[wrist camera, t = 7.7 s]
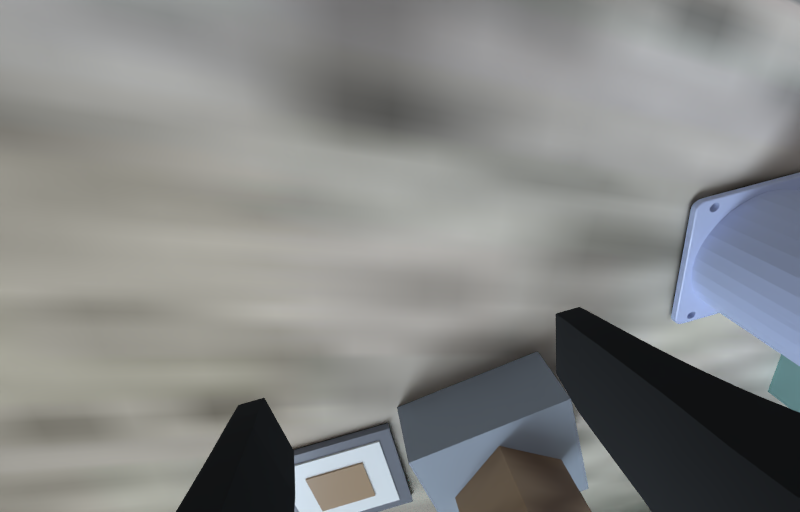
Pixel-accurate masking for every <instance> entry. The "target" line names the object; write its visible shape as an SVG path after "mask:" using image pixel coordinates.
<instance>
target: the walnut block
mask: <svg viewBox="0 0 800 512" xmlns="http://www.w3.org/2000/svg"><path fill="white" fill-rule="evenodd" d="M455 499H456V503H457V506H458V510H459V512H591V510H590V508H589V507H588V505H587V503H586V501H585V500H584V498H583V496H582V494H581V493H580V491H579V489H578V487H577V486H576V484H575V482H574V481H573V479H572V477H571V475H570V474H569V472H568V470H567V468H566V467H565V465H564V463H563V461H562V460H561V459H556V458H552V457H547V456H543V455H538V454H534V453H530V452H525V451H521V450H516V449H512V448H507V447H503V446H499V447H498V448H497V449H496V450H495V451H494V452H493V454H492V455H491V456H490V457H489V458H488V460H487V461H486V462H485V463H484V464H483V465H482V467H481V468H480V469H479V470H478V471H477V472H476V474H475V475H474V476H473V477H472V478H471V480H470V481H469V482H468V483H467V484H466V485H465V487H464V488H463V489H462V490H461V491H460V493H459V494H458V495H457V496H456V497H455Z"/></svg>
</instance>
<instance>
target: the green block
mask: <svg viewBox="0 0 800 512" xmlns="http://www.w3.org/2000/svg"><path fill="white" fill-rule="evenodd" d="M768 392H769V393H771V394H772V395H773V396H774V397H776V398H777V399H778V400H780V401H781V402H782V403H784V404H785V405H786V406H787V407H789V408H790V409H792V410H794V411H797V412H799V413H800V366H798V365H797V364H795V363H794V362H792V361H791V360H789V359H788V358H786V357H785V356H783V355H782V354H781V357H780V360H779V362H778V365H777V368H776V371H775V373H774V376H773V379H772V382H771V384H770V387H769V390H768Z"/></svg>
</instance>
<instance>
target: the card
mask: <svg viewBox="0 0 800 512" xmlns="http://www.w3.org/2000/svg"><path fill="white" fill-rule="evenodd" d="M294 465H295V509H294V512H379V511H382V510H385V509H389V508H392V507H395V506H399V505H402V504H405V503H409V502H412V501H413V500H412V495H411V492H410V489H409V486H408V483H407V480H406V477H405V474H404V471H403V468H402V465H401V462H400V459H399V455H398V452H397V449H396V446H395V443H394V440H393V437H392V434H391V431H390V428H389V425H388V423H386V424H383V425H379V426H376V427H372V428H369V429H366V430H362V431H359V432H355V433H352V434H348V435H345V436H341V437H338V438H334V439H331V440H327V441H324V442H320V443H317V444H313V445H310V446H306V447H303V448H299V449H296V450H294Z"/></svg>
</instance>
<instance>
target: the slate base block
mask: <svg viewBox="0 0 800 512" xmlns="http://www.w3.org/2000/svg"><path fill="white" fill-rule="evenodd" d="M397 409H398V414H399V419H400V424H401V429H402V433H403V438H404V443H405V448H406V453H407V458H408V462H409V465H410V466H411V468H412V470H413V471H414V473H415V475H416V476H417V478H418V480H419V481H420V483H421V485H422V486H423V488H424V490H425V491H426V493H427V495H428V496H429V498H430V500H431V501H432V503H433V505H434V506H435V508H436V510H437V511H438V512H459V510H458V506H457V503H456V499H455V497H456V496H457V495H458V494H459V493H460V491H461V490H462V489H463V488H464V487H465V485H466V484H467V483H468V482H469V481H470V480H471V478H472V477H473V476H474V475H475V474H476V472H477V471H478V470H479V469H480V468H481V467H482V465H483V464H484V463H485V462H486V461H487V460H488V458H489V457H490V456H491V455H492V454H493V452H494V451H495V450H496V449H497V448H498V447H499V446H503V447H507V448H512V449H516V450H521V451H525V452H530V453H534V454H538V455H543V456H547V457H552V458H556V459H561V460H562V461H563V463H564V465H565V467H566V468H567V470H568V472H569V474H570V475H571V477H572V479H573V481H574V482H575V484H576V486H577V487H578V489H579V491H580V492H581V491H583V490H586V489H588V483H587V478H586V473H585V468H584V463H583V458H582V453H581V448H580V443H579V438H578V432H577V427H576V422H575V417H574V412H573V407H572V402H571V398H570V397H569V395H568V394H567V393H566V391H565V390H564V388H563V387H562V386H561V384H560V383H559V381H558V380H557V378H556V377H555V376H554V374H553V373H552V371H551V370H550V368H549V367H548V366H547V364H546V363H545V361H544V360H543V358H542V357H541V356H540V354H539V353H538V351H537V352H534V353H532V354H529V355H527V356H524V357H522V358H519V359H517V360H514V361H512V362H509V363H507V364H504V365H502V366H499V367H497V368H494V369H492V370H489V371H487V372H484V373H482V374H479V375H477V376H474V377H472V378H470V379H467V380H465V381H462V382H460V383H457V384H455V385H452V386H450V387H447V388H445V389H442V390H440V391H437V392H435V393H432V394H430V395H427V396H425V397H422V398H420V399H417V400H415V401H412V402H410V403H407V404H405V405H402V406H400V407H397Z"/></svg>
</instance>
